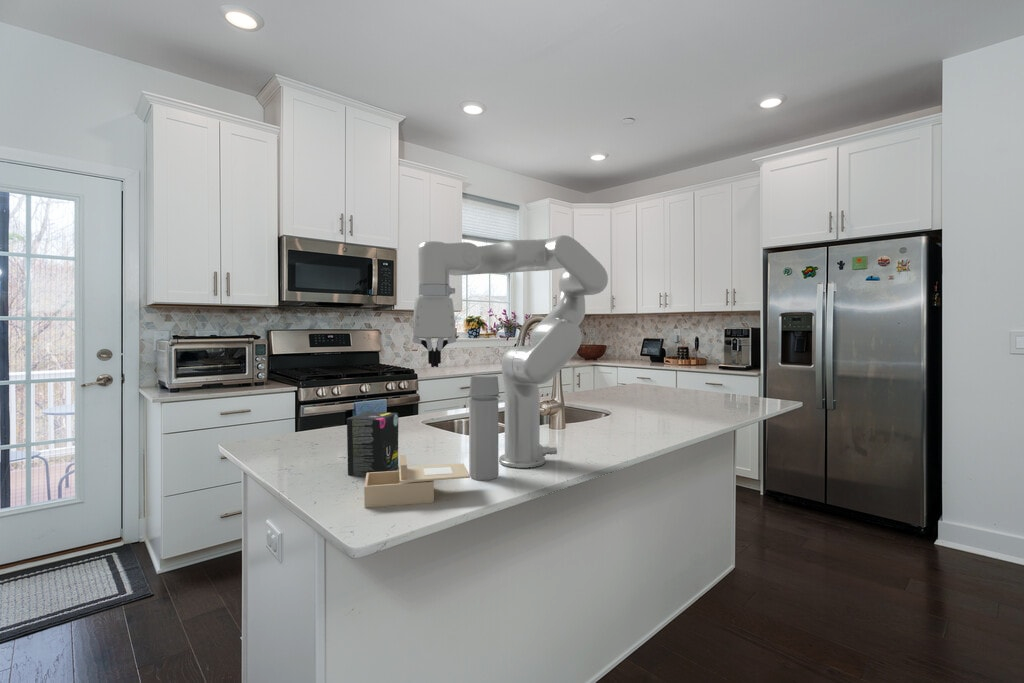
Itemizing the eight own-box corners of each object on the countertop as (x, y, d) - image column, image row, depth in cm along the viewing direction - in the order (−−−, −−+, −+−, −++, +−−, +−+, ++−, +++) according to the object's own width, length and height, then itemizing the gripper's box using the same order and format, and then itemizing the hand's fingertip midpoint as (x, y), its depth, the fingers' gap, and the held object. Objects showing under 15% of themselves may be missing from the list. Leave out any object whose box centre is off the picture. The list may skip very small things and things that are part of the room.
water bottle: (489, 484, 120) (489, 378, 119) (462, 479, 124) (461, 376, 123) (509, 474, 128) (509, 375, 127) (482, 470, 132) (482, 373, 131)
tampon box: (381, 479, 125) (380, 419, 124) (346, 477, 126) (345, 418, 126) (399, 467, 135) (399, 411, 135) (367, 465, 137) (367, 410, 137)
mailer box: (430, 488, 117) (430, 468, 117) (433, 503, 108) (433, 481, 107) (366, 493, 114) (366, 472, 114) (364, 509, 104) (364, 486, 104)
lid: (463, 465, 119) (463, 450, 119) (469, 477, 109) (469, 462, 109) (399, 469, 115) (398, 454, 115) (399, 482, 106) (399, 466, 106)
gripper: (462, 293, 132) (462, 364, 133) (402, 293, 129) (403, 366, 129) (466, 292, 125) (466, 367, 125) (403, 291, 121) (404, 368, 122)
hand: (434, 366), depth 127 cm, fingers closed
